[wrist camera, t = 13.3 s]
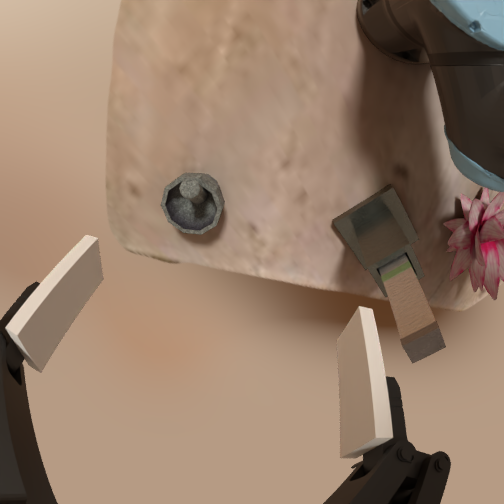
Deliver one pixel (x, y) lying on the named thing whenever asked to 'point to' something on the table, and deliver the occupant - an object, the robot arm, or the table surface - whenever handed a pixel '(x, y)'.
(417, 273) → the sleeve
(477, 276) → the decorative flower
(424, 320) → the steel post
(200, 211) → the mortar and pestle
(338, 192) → the table surface
